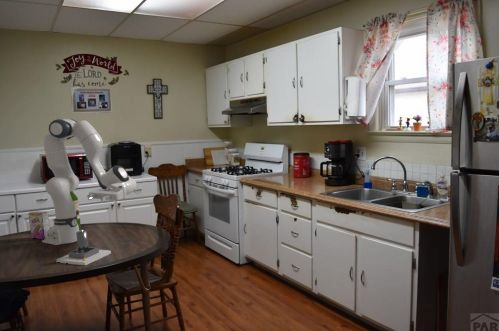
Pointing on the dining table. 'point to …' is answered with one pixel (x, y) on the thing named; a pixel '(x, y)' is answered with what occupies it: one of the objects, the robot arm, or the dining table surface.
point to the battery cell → (82, 241)
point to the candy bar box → (38, 224)
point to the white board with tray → (83, 256)
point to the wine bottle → (76, 207)
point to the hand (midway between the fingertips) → (95, 198)
